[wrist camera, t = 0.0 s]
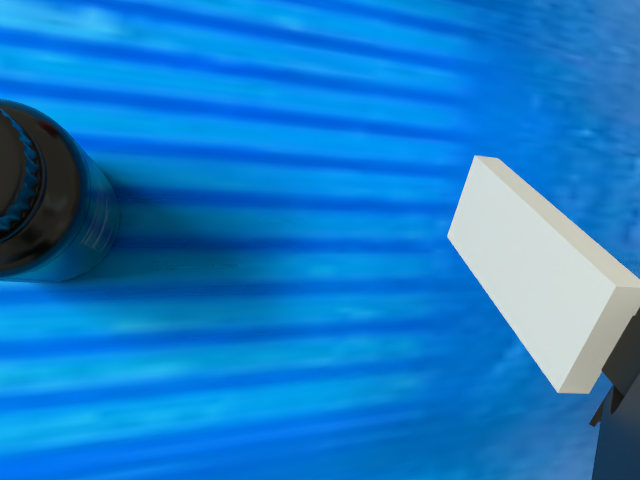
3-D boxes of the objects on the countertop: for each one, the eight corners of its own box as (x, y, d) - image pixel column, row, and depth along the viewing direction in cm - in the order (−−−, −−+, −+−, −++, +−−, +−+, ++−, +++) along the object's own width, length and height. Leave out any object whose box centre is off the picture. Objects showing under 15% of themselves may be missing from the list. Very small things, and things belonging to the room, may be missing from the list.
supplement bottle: (49, 127, 28) (-56, 7, 16) (149, 214, 29) (116, 160, 17) (-55, 222, 26) (-253, 165, 15) (54, 312, 27) (-54, 325, 15)
